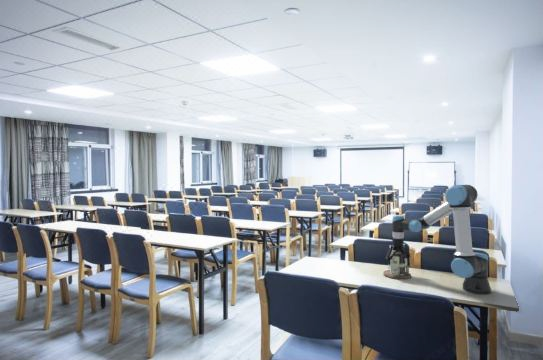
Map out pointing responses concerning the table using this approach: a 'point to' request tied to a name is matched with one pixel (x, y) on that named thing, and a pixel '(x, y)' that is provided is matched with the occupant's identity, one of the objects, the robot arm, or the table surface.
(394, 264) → the coffee can
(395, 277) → the locating disc
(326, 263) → the table surface
